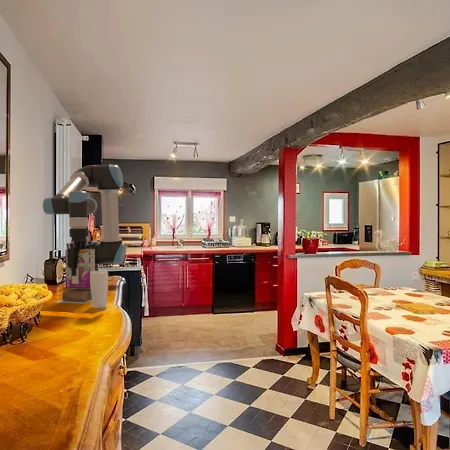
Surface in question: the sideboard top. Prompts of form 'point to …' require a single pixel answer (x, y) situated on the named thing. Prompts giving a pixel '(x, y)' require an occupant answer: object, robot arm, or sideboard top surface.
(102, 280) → the drinking glass
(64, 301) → the board
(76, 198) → the robot arm
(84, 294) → the walnut block
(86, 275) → the candy bar box
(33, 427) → the sideboard top surface
